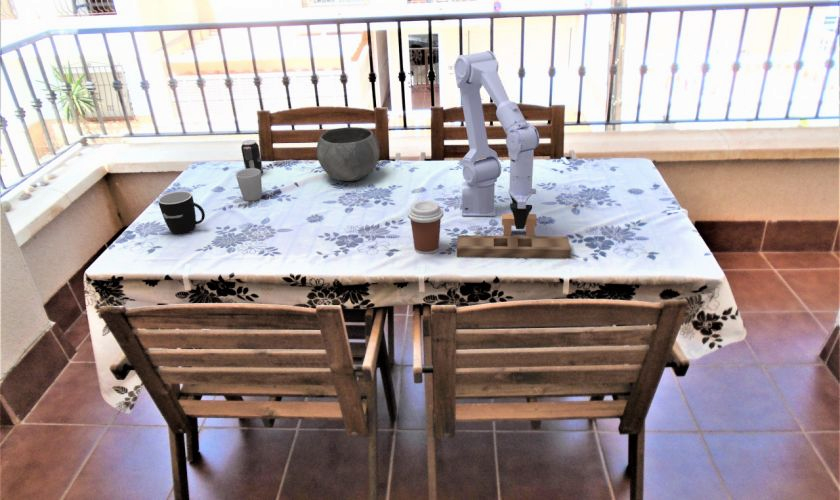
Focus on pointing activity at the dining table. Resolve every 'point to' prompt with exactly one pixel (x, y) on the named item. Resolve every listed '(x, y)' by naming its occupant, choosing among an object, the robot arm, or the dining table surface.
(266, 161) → the dining table surface
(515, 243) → the rail
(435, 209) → the coffee cup
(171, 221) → the mug
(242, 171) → the cup
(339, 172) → the bowl
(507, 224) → the clip
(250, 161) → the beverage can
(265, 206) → the dining table surface
